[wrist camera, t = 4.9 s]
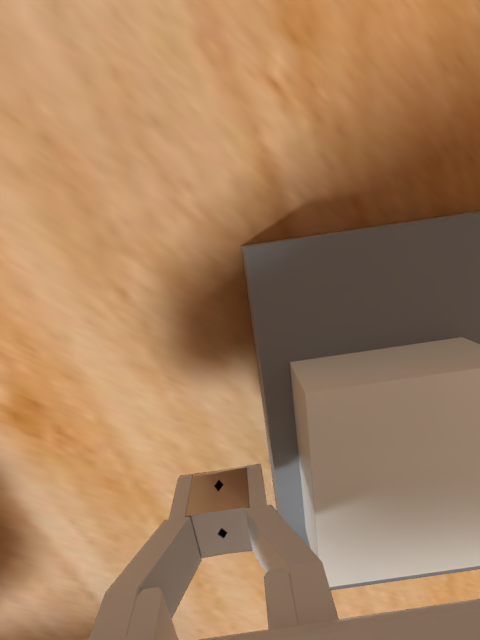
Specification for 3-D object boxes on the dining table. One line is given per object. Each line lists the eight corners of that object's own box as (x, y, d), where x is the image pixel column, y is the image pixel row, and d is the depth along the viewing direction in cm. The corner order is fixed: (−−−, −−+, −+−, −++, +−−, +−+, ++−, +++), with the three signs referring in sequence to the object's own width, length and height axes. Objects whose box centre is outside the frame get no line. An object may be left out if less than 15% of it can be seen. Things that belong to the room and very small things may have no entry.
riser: (434, 508, 16) (480, 568, 13) (279, 530, 16) (290, 595, 13) (459, 213, 11) (540, 204, 8) (241, 245, 11) (245, 247, 8)
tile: (444, 511, 12) (487, 564, 10) (306, 531, 12) (321, 588, 10) (462, 337, 9) (522, 362, 7) (289, 362, 9) (305, 393, 7)
